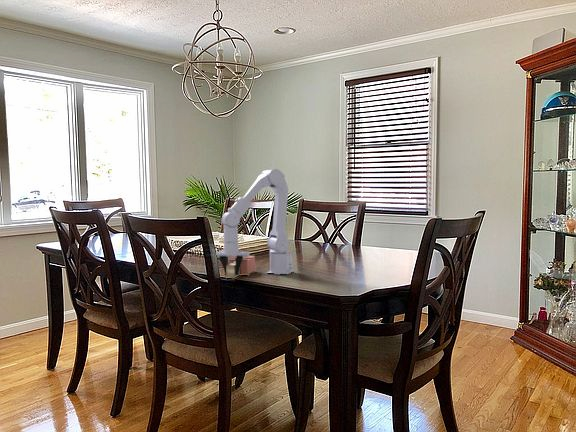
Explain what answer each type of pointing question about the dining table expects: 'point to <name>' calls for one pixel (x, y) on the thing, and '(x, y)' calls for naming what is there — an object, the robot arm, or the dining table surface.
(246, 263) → the dispenser
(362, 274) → the dining table surface
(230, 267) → the cream block
